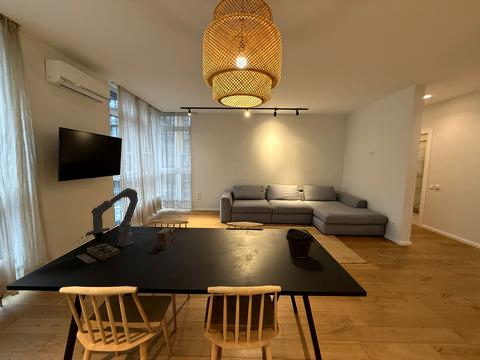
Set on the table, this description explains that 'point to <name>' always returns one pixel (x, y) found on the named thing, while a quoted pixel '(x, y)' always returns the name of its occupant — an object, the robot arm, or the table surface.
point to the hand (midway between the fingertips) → (98, 242)
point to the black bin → (299, 243)
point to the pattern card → (86, 258)
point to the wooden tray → (102, 252)
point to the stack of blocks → (165, 237)
